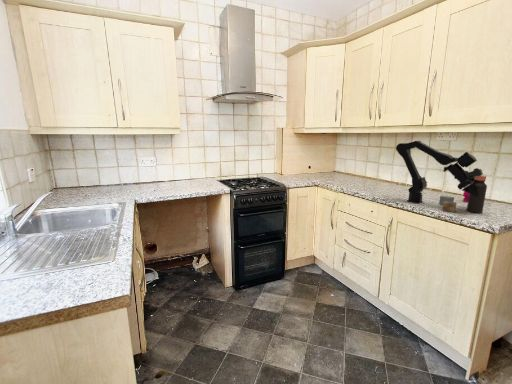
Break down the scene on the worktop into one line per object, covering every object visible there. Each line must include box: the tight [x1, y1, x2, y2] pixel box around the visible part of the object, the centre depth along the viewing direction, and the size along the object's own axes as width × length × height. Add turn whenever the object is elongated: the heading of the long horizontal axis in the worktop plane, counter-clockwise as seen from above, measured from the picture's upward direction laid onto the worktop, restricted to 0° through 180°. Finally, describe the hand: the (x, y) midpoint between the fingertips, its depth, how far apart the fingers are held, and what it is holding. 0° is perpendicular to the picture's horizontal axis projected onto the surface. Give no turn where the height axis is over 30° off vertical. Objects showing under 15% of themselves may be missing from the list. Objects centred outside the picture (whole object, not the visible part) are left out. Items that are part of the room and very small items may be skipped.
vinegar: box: [466, 175, 488, 214], centre depth 144 cm, size 7×7×20 cm
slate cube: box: [438, 195, 455, 206], centre depth 161 cm, size 5×5×5 cm
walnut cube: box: [442, 201, 457, 214], centre depth 148 cm, size 5×5×5 cm
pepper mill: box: [462, 191, 469, 203], centre depth 166 cm, size 7×7×20 cm
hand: (480, 195), depth 143 cm, fingers open, 9 cm apart
